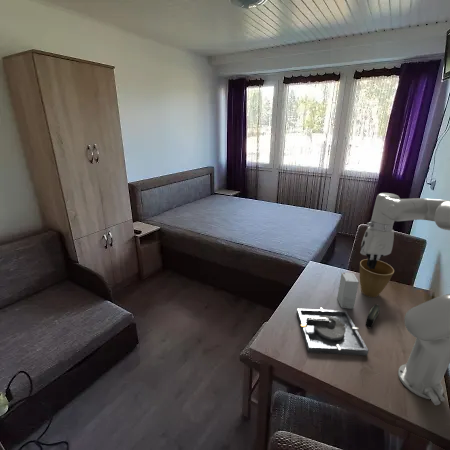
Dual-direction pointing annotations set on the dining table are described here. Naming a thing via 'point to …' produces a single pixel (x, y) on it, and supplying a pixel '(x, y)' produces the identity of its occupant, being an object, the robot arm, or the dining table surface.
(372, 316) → the green cucumber
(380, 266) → the plant pot
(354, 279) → the skincare box
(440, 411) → the dining table surface
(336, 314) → the housing
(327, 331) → the dial
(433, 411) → the dining table surface
